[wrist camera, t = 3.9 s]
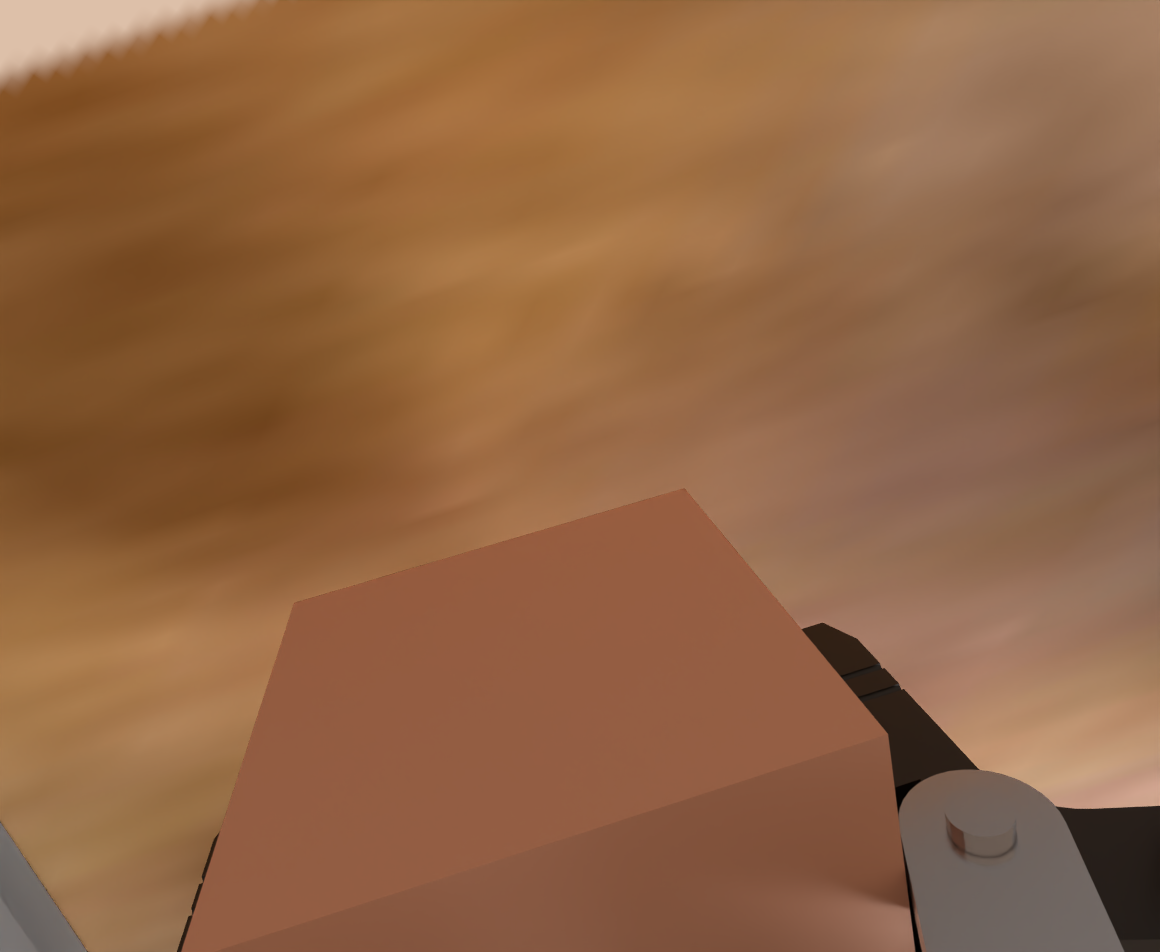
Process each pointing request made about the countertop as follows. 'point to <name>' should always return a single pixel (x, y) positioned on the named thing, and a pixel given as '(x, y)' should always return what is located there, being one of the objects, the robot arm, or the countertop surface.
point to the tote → (29, 908)
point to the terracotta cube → (560, 763)
